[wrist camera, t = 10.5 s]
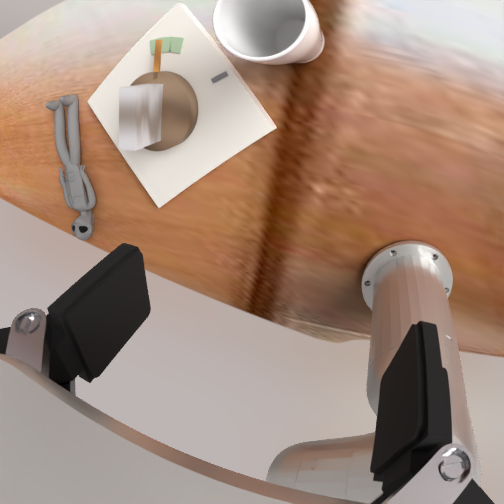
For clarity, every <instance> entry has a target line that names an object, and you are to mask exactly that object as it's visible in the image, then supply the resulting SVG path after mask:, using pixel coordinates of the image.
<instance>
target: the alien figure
mask: <svg viewBox="0 0 504 504" xmlns="http://www.w3.org/2000/svg"><path fill="white" fill-rule="evenodd" d="M64 105H65V106H68V115H67V127H68V140H69V150H68V148H67V144H66V137H65V112H64ZM46 107H47V108H48V109H50V110H52V111H55V143H56V148H57V151H58V154H59V157H60V159H61V161H62V162H63V164H64V165H65V178H64V172H63V171H62V168H61V167H60V168H59V173H60V174H59V180H60V184H61V186H62V188H63V192H64V198H65V202H66V204H67V205H68V206H69V207H70V208H72V209H74V210H77V211H80V214H81V216H79V217H78V218H77V219H76V220H75V221H74V222H73V224H72V232H73V235H74V236H75V235H76V236H77V238H78V239H80V240H86V239H89V238H90V237H91V236H92V234H93V231H94V216H93V213H92V210H91V209H92V208H93V207H94V206H95V204H96V197H95V193H94V190H93V187H92V185H91V183H90V180H89V178H88V176H87V175H86V173H85V172H84V168H85V164H84V166H83V169H82V165H80V160H81V148H80V132H79V101H78V96H77V95H76V94H73V95H68V96H62V97H61V98H60V100H57V101H50V102H47V103H46ZM69 152H70V153H69ZM65 180H66V181H65ZM86 188H87V190H86ZM87 194H88V196H87ZM88 200H89V201H88Z"/></svg>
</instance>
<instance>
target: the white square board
mask: <svg viewBox="0 0 504 504" xmlns="http://www.w3.org/2000/svg"><path fill="white" fill-rule="evenodd" d="M156 40H163V41H162V53H161V65H160V71H170V72H174V73H176V74H179V75H180V76H182V77H183V78H184V79H186V80H187V81H188V82H189V84H190V85H191V86H192V88H193V90H194V92H195V94H196V97H197V101H198V118H197V122H196V125H195V128H194V130H193V131H192V133H191V134H190V136H189V137H188V138H187V139H186V140H185V141H183V142H182V143H180V144H179V145H176V146H174V147H172V148H170V149H167V150H164V151H151V150H147V149H145V148H141V149H139V150H137V151H133V150H126V149H119V88H120V87H127V86H130V85H131V84H132V83H133V82H134V81H135V80H136V79H137V78H138V77H140V76H141V75H143V74H146V73H149V72H153V68H154V54H155V42H156ZM88 103H89V105H90V107H91V108H92V110H93V111H94V113H95V114H96V116H97V118H98V119H99V121H100V122H101V124H102V125H103V127H104V128H105V130H106V131H107V133H108V134H109V136H110V137H111V139H112V141H113V142H114V144H115V145H116V147H117V148H118V150H119V151H120V153H121V154H122V155H123V157H124V158H125V160H126V161H127V163H128V164H129V166H130V167H131V169H132V170H133V172H134V173H135V175H136V176H137V178H138V179H139V180H140V182H141V183H142V185H143V186H144V188H145V189H146V191H147V192H148V193H149V195H150V196H151V198H152V199H153V201H154V202H155V203H156V205H157V206H158V208H160V207H161V206H163V205H164V204H166V203H167V202H168V201H170V200H171V199H172V198H174V197H175V196H176V195H178V194H179V193H181V192H182V191H183V190H185V189H186V188H187V187H189V186H190V185H192V184H193V183H194V182H196V181H197V180H199V179H200V178H202V177H203V176H204V175H206V174H207V173H209V172H210V171H212V170H213V169H215V168H216V167H217V166H219V165H220V164H222V163H223V162H225V161H226V160H228V159H229V158H231V157H232V156H234V155H235V154H237V153H238V152H240V151H241V150H243V149H244V148H246V147H247V146H249V145H251V144H252V143H254V142H255V141H257V140H258V139H260V138H262V137H263V136H265V135H266V134H268V133H269V132H271V131H273V130H274V129H276V128H277V127H276V126H275V124H274V123H273V121H272V120H271V118H270V117H269V115H268V114H267V112H266V111H265V109H264V108H263V106H262V105H261V104H260V102H259V101H258V99H257V98H256V96H255V95H254V94H253V92H252V91H251V89H250V88H249V87H248V85H247V84H246V82H245V81H244V80H243V78H242V77H241V76H240V74H239V73H238V72H237V70H236V69H235V67H234V66H233V65H232V63H231V62H230V61H229V59H228V58H227V57H226V56H225V54H224V53H223V52H222V50H221V49H220V48H219V46H218V45H217V44H216V43H215V41H214V40H213V39H212V37H211V36H210V35H209V34H208V32H207V31H206V30H205V29H204V27H203V26H202V25H201V24H200V23H199V21H198V20H197V19H196V18H195V16H194V15H193V14H192V13H191V12H190V10H189V9H188V8H187V7H186V6H185V5H184V4H181V3H177V4H176V5H175V6H174V7H173V8H172V9H171V10H170V11H168V12H167V13H166V14H165V15H164V16H163V17H162V18H161V19H160V20H159V21H158V22H157V23H156V24H155V25H154V26H153V27H152V28H151V29H150V30H149V31H148V32H147V33H146V34H145V35H144V36H143V37H142V38H141V39H140V40H139V41H138V42H137V43H136V44H135V45H134V46H133V48H132V49H131V50H130V51H129V52H128V53H127V54H126V55H125V56H124V57H123V59H122V60H121V61H120V62H119V63H118V64H117V66H116V67H115V68H114V69H113V70H112V71H111V73H110V74H109V75H108V76H107V77H106V79H105V80H104V81H103V82H102V84H101V85H100V86H99V87H98V89H97V90H96V91H95V93H94V94H93V95H92V96H91V98H90V99H89V100H88Z"/></svg>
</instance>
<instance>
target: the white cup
mask: <svg viewBox="0 0 504 504" xmlns="http://www.w3.org/2000/svg"><path fill="white" fill-rule="evenodd" d="M212 21H213V29H214V32H215V35H216V37H217V39H218V41H219V42H220V44H221V45H222V46H223V47H224V48H225V49H226V50H227V51H228V52H230V53H231V54H233V55H235V56H237V57H239V58H241V59H244V60H248V61H252V62H256V63H261V64H269V65H282V64H290V63H307V62H310V61H312V60H314V59H316V58H317V57H318V56H319V55H320V54H321V52H322V50H323V48H324V36H323V33H322V31H321V28H320V24H319V20H318V16H317V14H316V11H315V9H314V7H313V6H312V4H311V3H310V1H309V0H218V1H217V3H216V5H215V7H214V11H213V19H212Z"/></svg>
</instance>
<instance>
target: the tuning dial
mask: <svg viewBox="0 0 504 504" xmlns="http://www.w3.org/2000/svg"><path fill="white" fill-rule="evenodd" d="M162 41H163V40H156V42H155V54H154V68H153V72H149V73H146V74H143V75H141V76H140V77H138V78H137V79H136V80H135V81H134V82H133V83H132V84H131V85H130V86H127V87H120V88H119V149H126V150H133V151H137V150H139V149H141V148H145V149H147V150H151V151H164V150H167V149H170V148H172V147H174V146H176V145H179V144H180V143H182V142H183V141H185V140H186V139H187V138H188V137H189V136H190V134H191V133H192V131H193V130H194V128H195V125H196V122H197V118H198V101H197V97H196V94H195V92H194V90H193V88H192V86H191V85H190V84H189V82H188V81H187V80H186V79H184V78H183V77H182V76H180V75H179V74H176V73H174V72H170V71H160V65H161V53H162Z"/></svg>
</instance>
